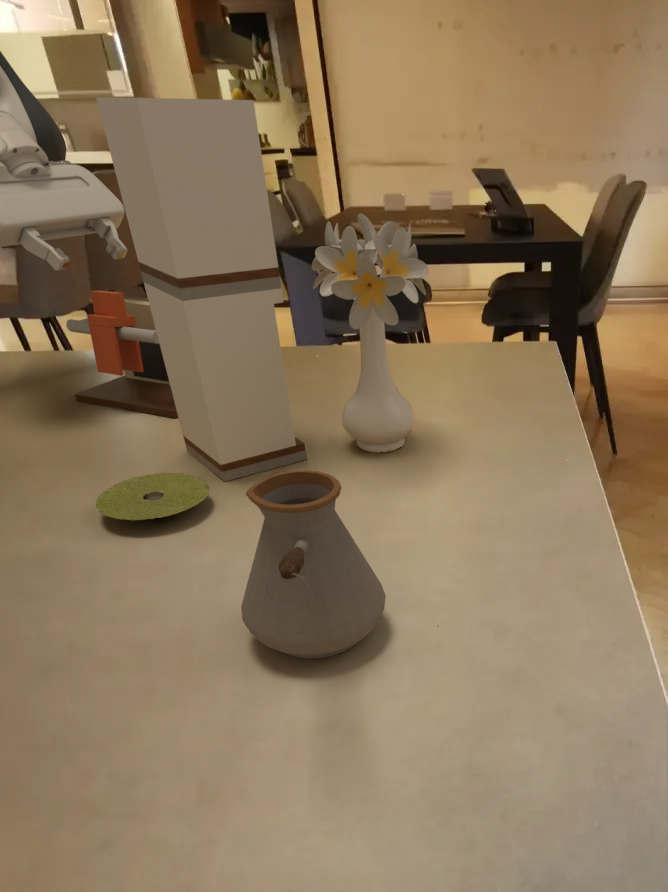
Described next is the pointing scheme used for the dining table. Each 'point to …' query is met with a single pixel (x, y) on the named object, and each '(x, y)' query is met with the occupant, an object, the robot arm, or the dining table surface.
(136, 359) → the clip
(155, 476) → the mat
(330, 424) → the dining table surface
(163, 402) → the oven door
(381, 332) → the flower vase
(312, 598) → the coffee pot
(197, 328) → the white striped pedestal
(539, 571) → the dining table surface
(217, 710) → the dining table surface
